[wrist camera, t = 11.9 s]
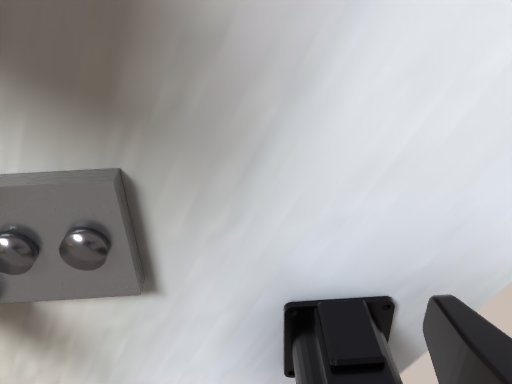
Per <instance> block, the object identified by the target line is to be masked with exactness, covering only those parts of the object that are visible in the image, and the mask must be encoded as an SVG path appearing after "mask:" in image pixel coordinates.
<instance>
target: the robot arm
mask: <svg viewBox="0 0 512 384" xmlns="http://www.w3.org/2000/svg"><path fill="white" fill-rule="evenodd" d="M385 304H386V305H385ZM394 308H395V304H394V302H393V300H392V298H391V297H388V296H380V297H364V298H348V299H331V300H315V301H299V302H289V303H287V304H286V305H285V306H284V374H285V376H286V377H289V378H294V377H295V378H296V384H403V383H402V381H401V378H400V375H399V373H398V370H397V367H396V365H395V362H394V360H393V357H392V354H391V352H390V349H389V347H388V340H389V334H390V329H391V324H392V319H393V313H394ZM291 310H294V311H291ZM423 333H424V337H425V340H426V344H427V347H428V350H429V353H430V356H431V360H432V363H433V366H434V369H435V372H436V376H437V379H438V382H439V384H512V338H511V337H509V336H508V335H506V334H505V333H504V332H502V331H501V330H500V329H498V328H497V327H496V326H494V325H493V324H491V323H490V322H489V321H487V320H486V319H485V318H483V317H482V316H481V315H479V314H478V313H477V312H475V311H474V310H472V309H471V308H470V307H468V306H467V305H466V304H464V303H463V302H462V301H460V300H459V299H458V298H456V297H455V296H452V295H434V296H432V297H431V298H430V299H429V301H428V305H427V309H426V313H425V317H424V322H423Z"/></svg>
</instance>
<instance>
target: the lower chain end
mask: <svg viewBox="0 0 512 384" xmlns="http://www.w3.org/2000/svg"><path fill="white" fill-rule="evenodd" d="M144 280H145V279H144V275H143V270H142V266H141V262H140V257H139V253H138V248H137V244H136V240H135V235H134V231H133V227H132V222H131V218H130V214H129V209H128V205H127V200H126V196H125V192H124V187H123V183H122V179H121V174H120V170H119V168H114V169H95V170H76V171H58V172H39V173H20V174H1V175H0V303H16V302H32V301H48V300H65V299H81V298H98V297H114V296H131V295H141V291H142V287H143V283H144Z"/></svg>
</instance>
